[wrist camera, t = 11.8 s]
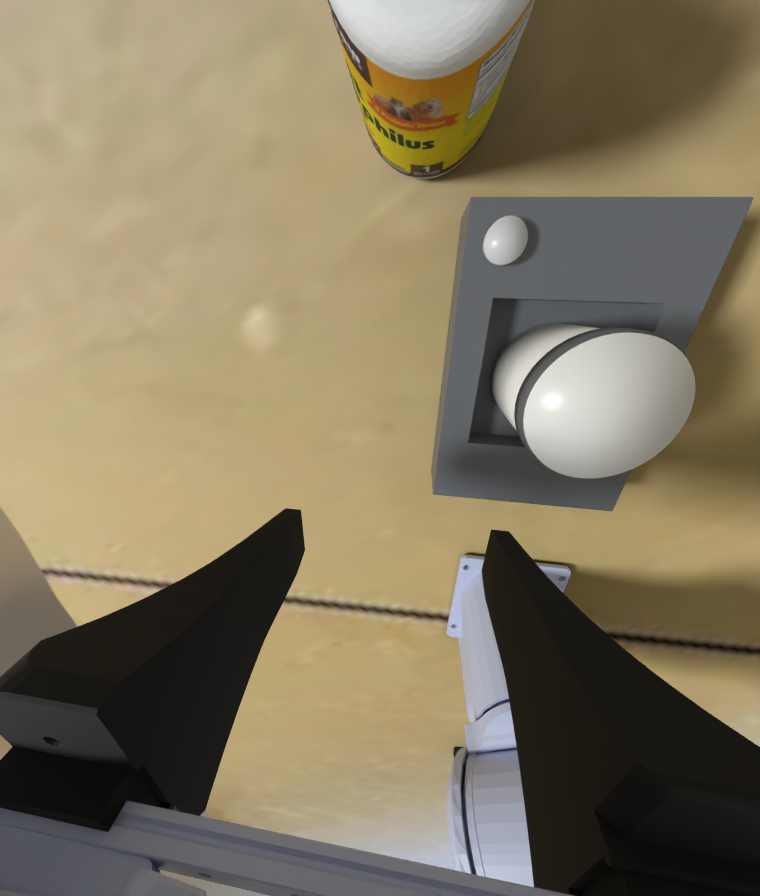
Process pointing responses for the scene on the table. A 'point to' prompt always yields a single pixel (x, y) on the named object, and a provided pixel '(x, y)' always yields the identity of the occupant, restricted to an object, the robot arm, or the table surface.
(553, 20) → the table surface
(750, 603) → the table surface
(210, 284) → the table surface
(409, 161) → the supplement bottle
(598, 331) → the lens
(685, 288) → the grey panel with knob
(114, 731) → the robot arm
